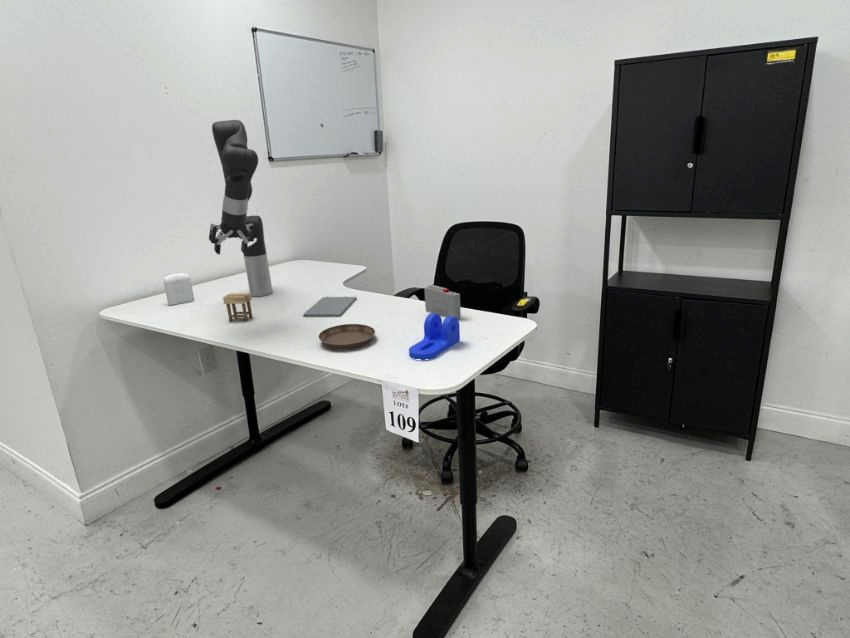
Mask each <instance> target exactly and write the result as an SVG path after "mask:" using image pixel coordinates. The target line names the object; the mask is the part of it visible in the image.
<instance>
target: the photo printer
mask: <svg viewBox="0 0 850 638" xmlns="http://www.w3.org/2000/svg"><path fill="white" fill-rule="evenodd" d="M163 286H164V290H165V294H166V301H167V305H168V306H174V304H175V305H178V304H185V302H186V303H190V302H191V301H192V302H195V297H194V290H193V285H192V281H191V277H190V274H188V273H180V272H179V273H174V274H173V273H172V274H170V275H167V276H165V277H163Z"/></svg>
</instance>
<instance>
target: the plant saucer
mask: <svg viewBox="0 0 850 638" xmlns="http://www.w3.org/2000/svg"><path fill="white" fill-rule="evenodd" d="M375 334H376V330H375V328H374V327H372V326H370V325H367V324H360V323H348V324H346V323H345V324H339V325H335V326H331V327H328V328H326V329H324V330H322V331H321V332H319V334H318V339H319V340H320V341H321V343H322V344H323V345H325V346H326V347H327V348H329V349H331V348H332V350H336V349H341V350H340V351H342V349H348V350H354V349H358V347H359V348H361V346H362V347H363V345H364V346H366V345H368V344H369V343H370V341H371V340H372V339H373V338H374V337H375ZM365 344H366V345H365ZM353 348H354V349H353Z"/></svg>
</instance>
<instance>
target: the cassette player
mask: <svg viewBox="0 0 850 638" xmlns="http://www.w3.org/2000/svg"><path fill="white" fill-rule="evenodd" d="M424 303H425V305H424V306H425V312H427V313H428V314H431V313H433V314H438V315H440V316H441V318H445V317H447V316H452V317H456V318H458V320H461V317H462V316H461V315H462V314H461V293H457V292H454V291H450V289H449V288H446V287H442V286H438V285H434V284H428V285H427V286H426V287H424Z"/></svg>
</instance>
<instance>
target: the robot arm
mask: <svg viewBox="0 0 850 638" xmlns="http://www.w3.org/2000/svg"><path fill="white" fill-rule="evenodd" d="M211 133H212V136H213V137H212V138H213V140H214V143H215V147H216V151H217V154H218V156H219V160H220V165H221V168H222V173H223V178H224V183H225V184H224V185H225V186H224V195H223V200H222V207H221V208H222V209H221V210H222V211H221V223H220V224H214V223H211V224H210V229H209V234H208V240H209V241H210V243H211V244H214V245H213V246H214V247H213V250H214V252H215V254H216V255H221V250H222V249H221V246H222V243H223V241H226V240H227V238H228V239H233V238H235V239H240V240H241V243H240V244H241V246H240V251H241V252H242V253H243V259H244V265H245V270H246V277H247V281H248V282H247V283H248V284H247V285H248V289H249V293H251V297H264V296H269V295H271V294H273V286H272V280H271V278H272V277H271V273H270V267H269V262H268V256H267V248H266V242H265V233H264V226H263V225H264V224H263V220H262V218H261V216H259V215H258V214H257V215H248V209H249V201H250V199H251V196H252V194H253V186H252V182H251V181H252V179H253V177H254V174H255V172H256V170H257V168H258V165H259V157H258V153H257V152H256V151H255V150H253V149H251V148H249V147H248V134H247V129H246V127H245V125H244V123H243V122H242V121H241V120H239V119H232V120H231V119H228V120H222V121H221V120H220V121H215V122H213V123H212V126H211ZM217 233H218V234H217ZM254 240H255V242H254ZM250 242H252V244H251V245H248V244H249V243H250ZM253 242H254V243H253Z"/></svg>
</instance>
